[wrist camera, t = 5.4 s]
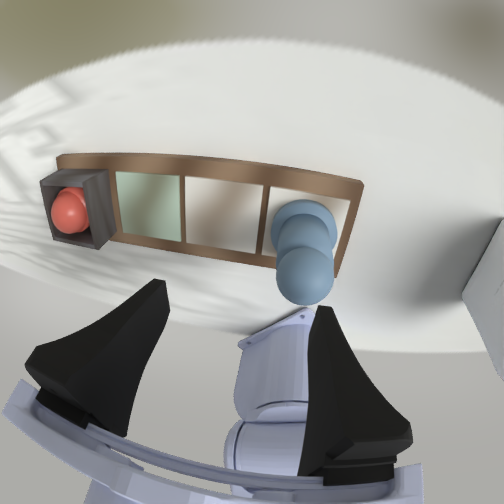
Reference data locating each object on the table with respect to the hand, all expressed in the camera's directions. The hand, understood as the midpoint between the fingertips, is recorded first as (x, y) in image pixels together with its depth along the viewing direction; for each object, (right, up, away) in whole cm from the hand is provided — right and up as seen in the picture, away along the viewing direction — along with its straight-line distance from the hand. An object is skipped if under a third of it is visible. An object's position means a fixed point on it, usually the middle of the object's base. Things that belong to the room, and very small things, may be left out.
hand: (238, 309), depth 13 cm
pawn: (+4, +4, +7) cm, 9 cm away
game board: (-5, +6, +8) cm, 12 cm away
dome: (-14, +7, +8) cm, 17 cm away
